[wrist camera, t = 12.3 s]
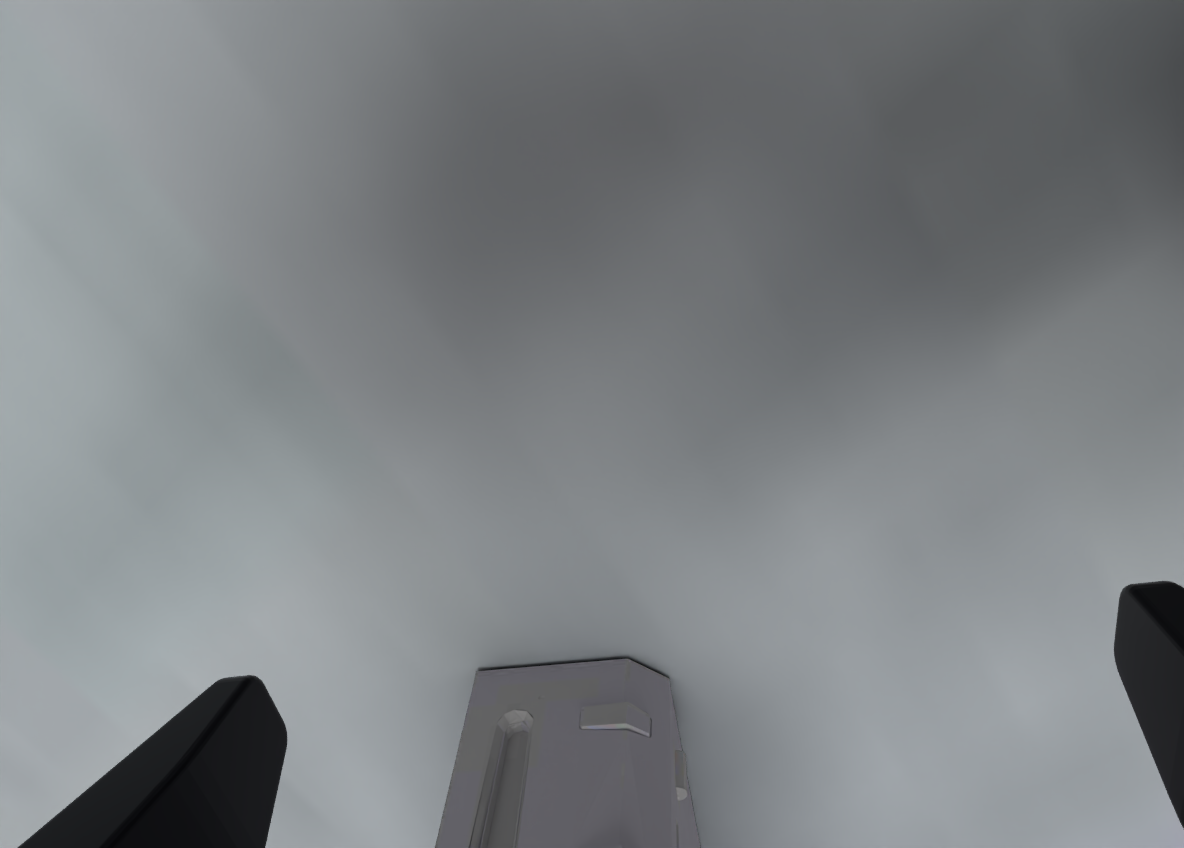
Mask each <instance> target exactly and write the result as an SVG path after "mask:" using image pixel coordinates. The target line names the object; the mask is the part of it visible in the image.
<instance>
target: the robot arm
mask: <svg viewBox="0 0 1184 848" xmlns="http://www.w3.org/2000/svg"><path fill="white" fill-rule="evenodd" d="M1114 656H1115V662H1116V666H1117V669H1118V672H1119V675H1120V677H1121V680H1122V682H1123V685H1124V687H1125V690H1126V692H1127V695H1128V697H1129V700H1130V702H1131V704H1132V707H1133V709H1134V712H1135V714H1136V717H1137V719H1138V722H1139V724H1140V727H1141V729H1142V731H1143V734H1144V736H1145V739H1146V741H1147V744H1148V746H1149V749H1150V751H1151V754H1152V756H1153V759H1154V761H1155V763H1156V766H1157V768H1158V771H1159V773H1160V776H1161V778H1162V781H1163V783H1164V786H1165V788H1166V790H1167V793H1168V795H1169V798H1170V800H1171V802H1172V805H1173V807H1174V809H1175V811H1176V814H1177V816H1178V818H1179V821H1180V823H1181V825H1182V826H1183V828H1184V588H1183V587H1182V586H1180V585H1178V584H1176V583H1173V582H1170V581H1158V582H1148V583H1138V584H1130V585H1128V586H1126V587H1124V588H1123V590H1122V592H1121V594H1120V598H1119V606H1118V615H1117V624H1116V633H1115V642H1114ZM286 747H287V731H286V727H285V724H284V721H283V719H282V717H281V716H280V714H279V712H278V710H277V708H276V706H275V704H274V702H273V700H272V698H271V697H270V695H269V693H268V691H267V689H266V687H265V685H264V683H263V682H262V680H260V679H259V678H258V677H256V676H252V675H247V676H237V677H228V678H223V679H220V680H218V681H217V682H215V683H214V684H213V685H211V686H210V687H209V688H208V689H207V690H205V691H204V692H203V693H202V694H201V695H200V696H198V697H197V698H196V699H195V700H194V701H192V702H191V703H190V704H189V705H188V706H186V707H185V708H184V709H183V710H182V711H180V712H179V713H178V714H177V715H176V716H174V717H173V718H172V719H171V720H170V721H168V722H167V723H166V724H165V725H164V726H162V727H161V728H160V729H159V730H158V731H157V732H155V733H154V734H153V735H152V736H151V737H149V738H148V739H147V740H146V741H145V742H143V743H142V744H141V745H140V746H139V747H137V748H136V749H135V750H134V751H133V752H131V753H130V754H129V755H128V756H127V757H125V758H124V759H123V760H122V761H121V762H119V763H118V764H117V765H116V766H115V767H114V768H112V769H111V770H110V771H109V772H108V773H106V774H105V775H104V776H103V777H102V778H100V779H99V780H98V781H97V782H96V783H94V784H93V785H92V786H91V787H90V788H88V789H87V790H86V791H85V792H84V793H82V794H81V795H80V796H79V797H78V798H76V799H75V800H74V801H73V802H72V803H70V804H69V805H68V806H67V807H66V808H65V809H63V810H62V811H61V812H60V813H59V814H57V815H56V816H55V817H54V818H53V819H51V820H50V821H49V822H48V823H47V824H45V825H44V826H43V827H42V828H41V829H39V830H38V831H37V832H36V833H35V834H33V835H32V836H31V837H30V838H29V839H27V840H26V841H25V842H24V843H23V844H21V845H20V846H19V847H18V848H265V846H266V841H267V837H268V832H269V827H270V823H271V818H272V813H273V809H274V804H275V799H276V795H277V790H278V785H279V781H280V776H281V771H282V767H283V762H284V757H285V753H286Z"/></svg>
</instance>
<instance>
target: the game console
mask: <svg viewBox="0 0 1184 848" xmlns="http://www.w3.org/2000/svg"><path fill="white" fill-rule="evenodd" d="M435 848H701V847H700V842H699V836H698V831H697V826H696V821H695V815H694V810H693V805H692V799H691V794H690V789H689V784H688V778H687V768H686V755H685V753H684V752H682V746H681V741H680V736H679V731H678V725H677V720H676V715H675V709H674V704H673V698H672V692H671V686H670V680H669V678H667V677H665V676H663V675H661V674H659V673H656V672H654V671H652V670H650V669H648V668H646V667H644V666H642V665H640V664H638V663H636V662H634V661H632V660H630V659H617V660H605V661H593V662H582V663H570V664H558V665H546V666H534V667H522V668H511V669H499V670H487V671H476V676H475V680H474V684H473V688H472V693H471V697H470V701H469V705H468V710H467V714H466V718H465V722H464V727H463V731H462V735H461V739H460V743H459V748H458V752H457V756H456V760H455V765H454V769H453V773H452V777H451V782H450V786H449V790H448V794H447V799H446V803H445V807H444V811H443V816H442V820H441V824H440V828H439V833H438V837H437V841H436V845H435Z"/></svg>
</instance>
